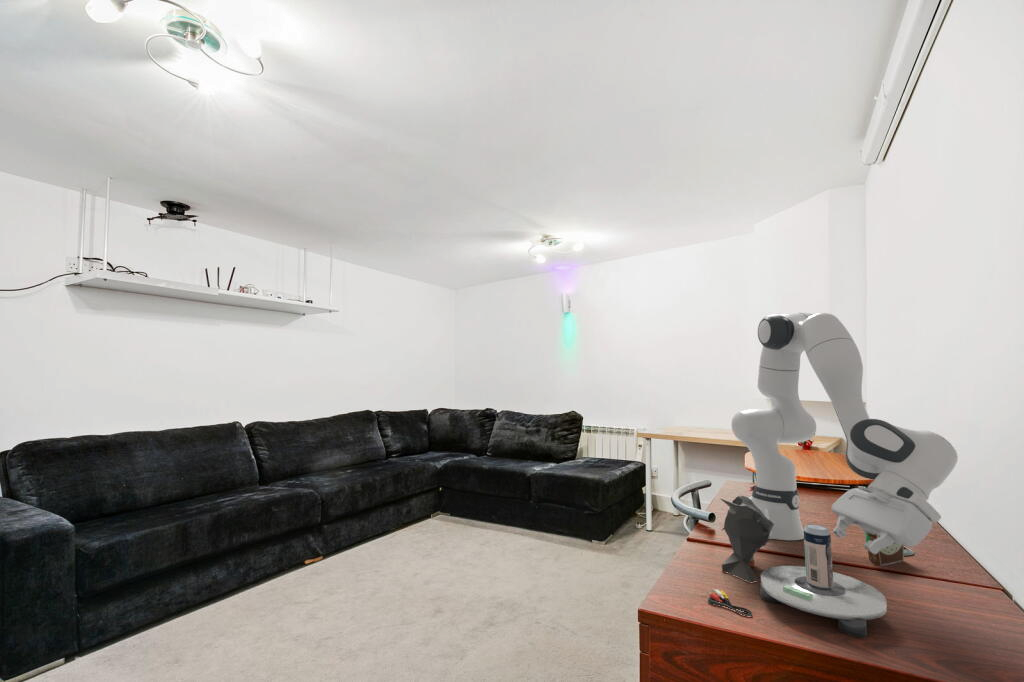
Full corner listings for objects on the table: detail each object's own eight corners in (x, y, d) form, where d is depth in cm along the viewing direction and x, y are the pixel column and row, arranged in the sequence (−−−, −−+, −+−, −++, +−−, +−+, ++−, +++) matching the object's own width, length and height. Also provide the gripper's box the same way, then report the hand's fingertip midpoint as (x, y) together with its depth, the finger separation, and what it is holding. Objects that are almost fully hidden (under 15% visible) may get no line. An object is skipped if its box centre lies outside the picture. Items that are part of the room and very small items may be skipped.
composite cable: (755, 618, 94) (755, 605, 95) (738, 622, 93) (737, 609, 93) (718, 597, 104) (717, 585, 104) (701, 600, 102) (701, 589, 102)
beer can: (838, 591, 95) (834, 531, 96) (812, 589, 96) (809, 529, 97) (827, 581, 100) (823, 524, 101) (802, 579, 101) (799, 522, 102)
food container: (882, 552, 130) (879, 515, 131) (907, 560, 124) (904, 521, 125) (852, 558, 125) (849, 520, 126) (877, 566, 120) (874, 526, 120)
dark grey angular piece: (792, 572, 116) (789, 499, 118) (751, 584, 109) (747, 505, 111) (742, 553, 129) (740, 487, 130) (702, 562, 122) (700, 493, 124)
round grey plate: (740, 600, 101) (739, 573, 102) (795, 578, 113) (794, 554, 113) (855, 649, 83) (853, 617, 83) (908, 617, 94) (906, 589, 94)
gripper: (848, 475, 110) (809, 517, 109) (925, 496, 90) (878, 548, 89) (868, 494, 110) (829, 537, 109) (949, 520, 90) (903, 572, 89)
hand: (852, 542), depth 99 cm, fingers open, 8 cm apart
